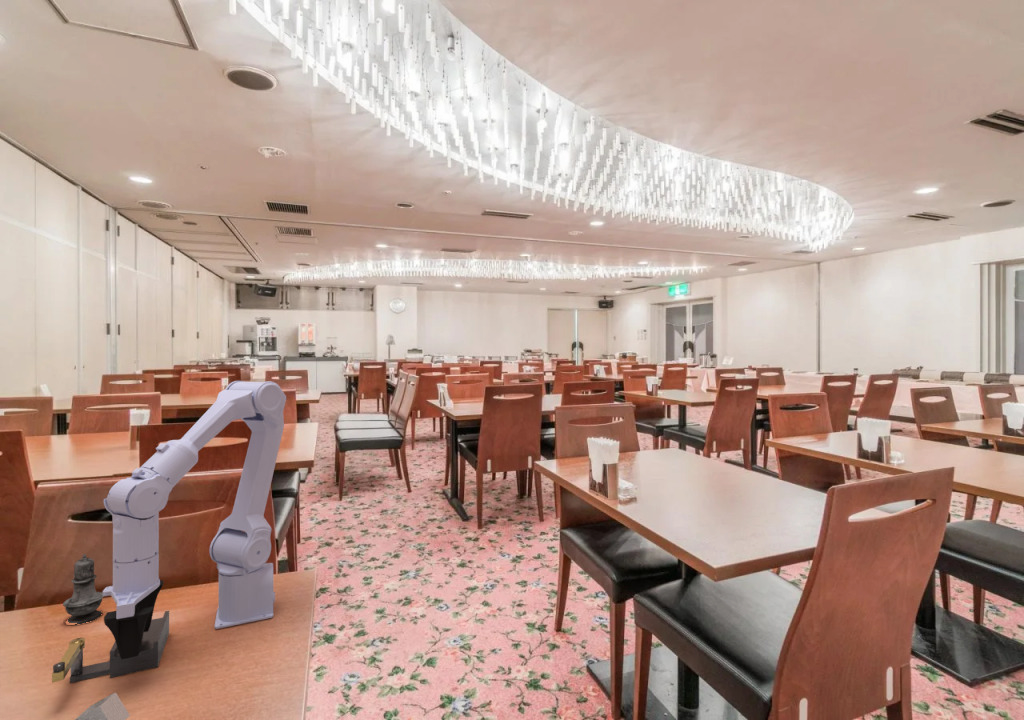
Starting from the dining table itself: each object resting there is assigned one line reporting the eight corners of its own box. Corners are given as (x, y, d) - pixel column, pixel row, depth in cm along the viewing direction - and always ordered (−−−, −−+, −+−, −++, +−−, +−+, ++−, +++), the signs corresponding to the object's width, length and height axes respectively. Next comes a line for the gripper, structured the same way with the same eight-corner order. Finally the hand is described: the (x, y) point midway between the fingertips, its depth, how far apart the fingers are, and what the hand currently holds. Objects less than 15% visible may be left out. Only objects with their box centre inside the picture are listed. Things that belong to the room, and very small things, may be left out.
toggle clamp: (169, 633, 88) (169, 610, 88) (157, 667, 78) (157, 641, 78) (87, 649, 83) (88, 625, 83) (65, 688, 73) (65, 660, 73)
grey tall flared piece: (80, 628, 90) (80, 561, 90) (54, 624, 91) (54, 558, 91) (112, 612, 96) (112, 549, 96) (87, 609, 97) (87, 546, 97)
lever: (66, 679, 69) (66, 665, 69) (48, 683, 68) (48, 668, 68) (86, 644, 77) (86, 631, 77) (71, 647, 76) (71, 634, 76)
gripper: (115, 545, 83) (115, 627, 83) (89, 578, 70) (88, 677, 70) (167, 538, 86) (167, 618, 86) (151, 569, 73) (150, 663, 73)
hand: (135, 643), depth 78 cm, fingers open, 7 cm apart
